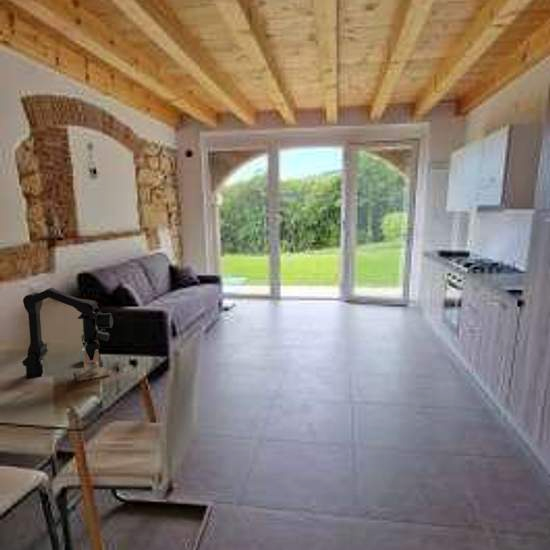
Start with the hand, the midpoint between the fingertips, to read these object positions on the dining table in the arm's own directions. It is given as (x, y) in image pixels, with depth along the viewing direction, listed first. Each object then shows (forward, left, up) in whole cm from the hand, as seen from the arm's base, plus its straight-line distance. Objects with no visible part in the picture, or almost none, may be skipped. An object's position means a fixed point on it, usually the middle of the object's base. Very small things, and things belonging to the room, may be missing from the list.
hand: (91, 358), depth 198 cm
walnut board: (0, 0, -8) cm, 8 cm away
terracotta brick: (0, 0, -1) cm, 1 cm away
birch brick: (0, 0, -7) cm, 7 cm away
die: (0, +19, -8) cm, 21 cm away
